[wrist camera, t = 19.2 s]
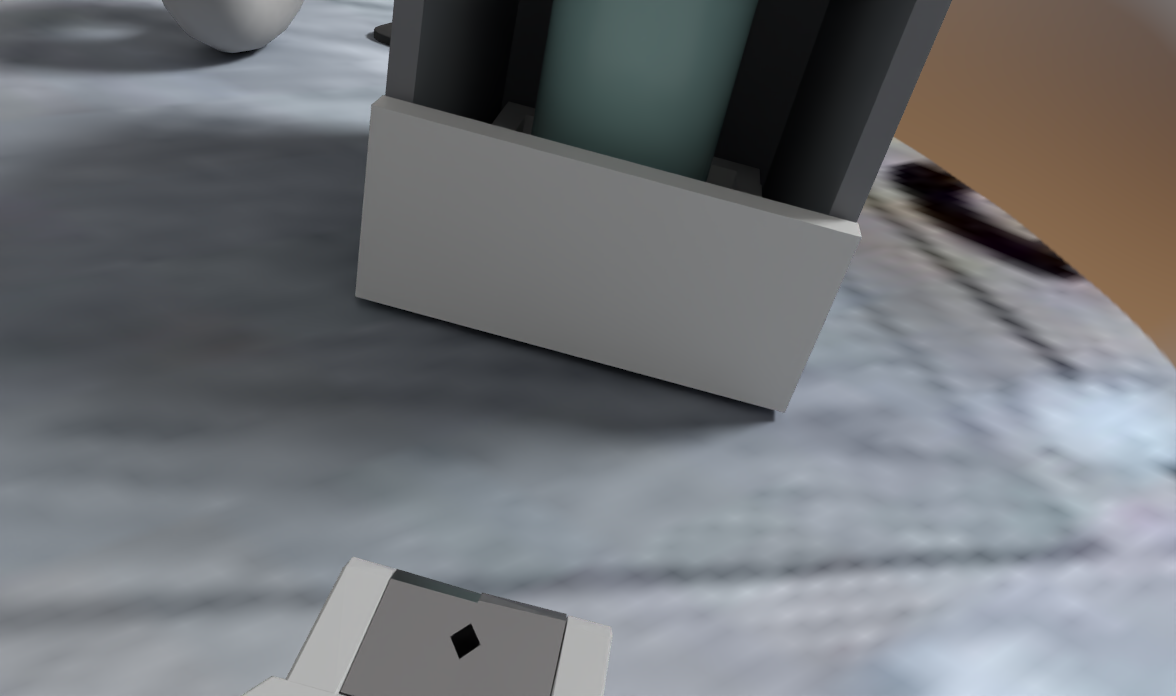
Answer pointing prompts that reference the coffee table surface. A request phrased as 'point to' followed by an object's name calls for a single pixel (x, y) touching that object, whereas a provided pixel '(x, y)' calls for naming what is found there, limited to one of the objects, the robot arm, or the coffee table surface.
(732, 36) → the sage green cylinder
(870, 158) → the housing
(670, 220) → the tray
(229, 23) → the donut
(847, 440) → the coffee table surface
